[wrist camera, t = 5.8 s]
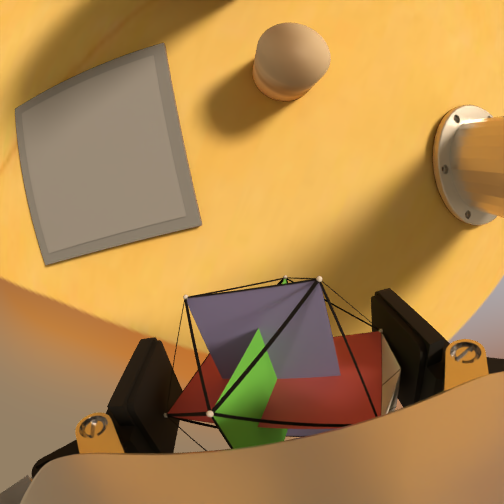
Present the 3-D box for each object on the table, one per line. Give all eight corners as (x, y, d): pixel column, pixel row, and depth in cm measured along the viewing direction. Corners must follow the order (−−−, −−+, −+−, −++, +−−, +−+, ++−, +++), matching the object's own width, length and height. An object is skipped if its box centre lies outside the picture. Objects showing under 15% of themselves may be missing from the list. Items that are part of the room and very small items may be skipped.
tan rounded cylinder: (305, 45, 21) (320, 21, 16) (318, 97, 22) (338, 81, 17) (246, 52, 21) (250, 26, 16) (259, 105, 22) (265, 89, 17)
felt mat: (165, 45, 20) (163, 42, 20) (202, 224, 25) (201, 225, 24) (18, 109, 20) (14, 108, 20) (48, 263, 25) (44, 265, 24)
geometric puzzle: (180, 441, 11) (305, 557, 5) (101, 315, 10) (210, 456, 3) (292, 358, 15) (433, 408, 9) (253, 236, 13) (434, 239, 7)
